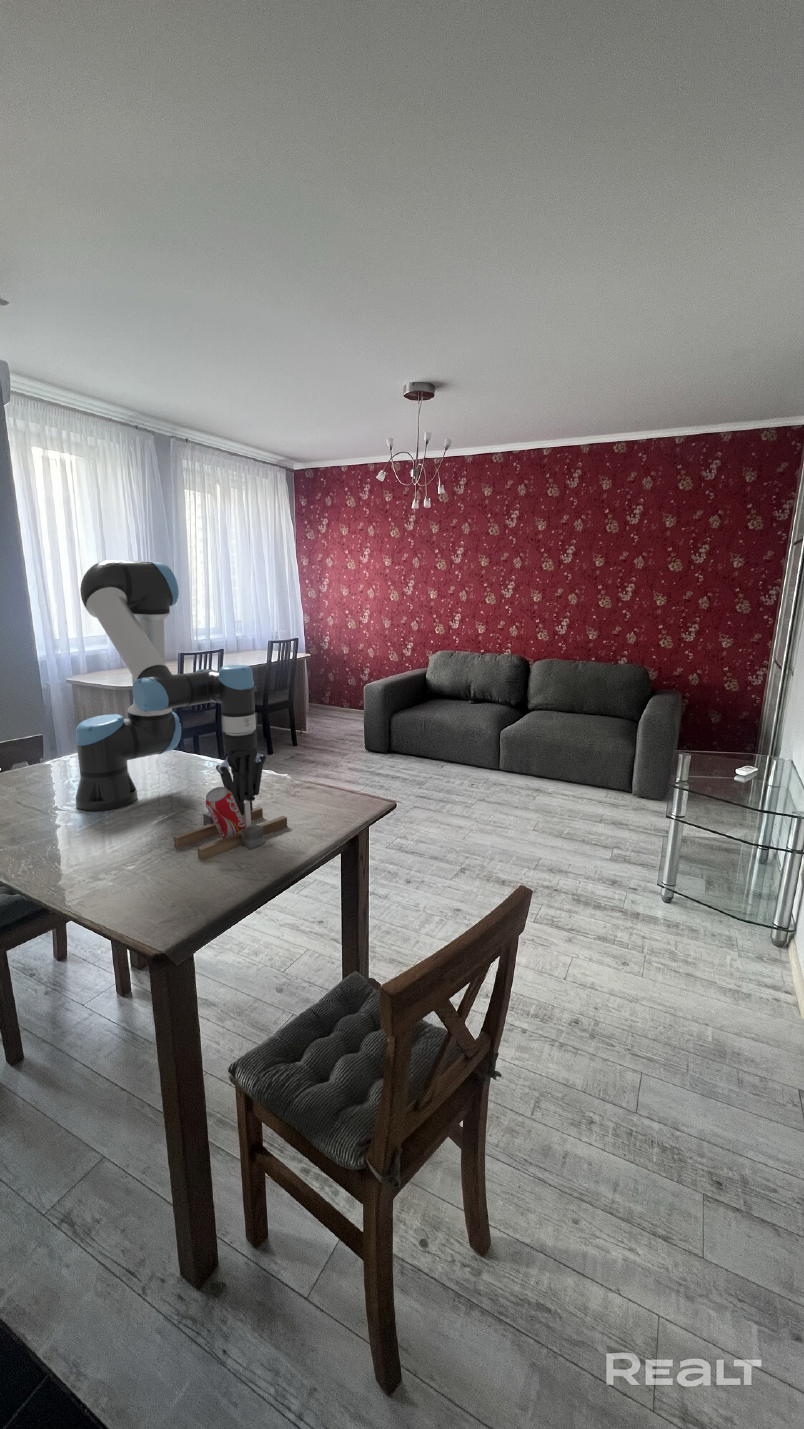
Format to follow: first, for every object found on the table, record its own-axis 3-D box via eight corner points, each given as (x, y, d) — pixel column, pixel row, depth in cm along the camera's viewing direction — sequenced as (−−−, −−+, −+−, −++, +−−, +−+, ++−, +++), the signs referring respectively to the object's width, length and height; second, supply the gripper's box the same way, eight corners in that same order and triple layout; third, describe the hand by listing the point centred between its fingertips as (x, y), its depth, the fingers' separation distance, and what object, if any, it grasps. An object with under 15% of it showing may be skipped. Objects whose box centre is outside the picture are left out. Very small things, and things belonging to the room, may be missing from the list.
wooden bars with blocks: (166, 842, 137) (164, 826, 136) (250, 812, 156) (250, 798, 155) (211, 865, 126) (210, 847, 125) (296, 830, 145) (296, 814, 144)
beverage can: (242, 840, 137) (225, 801, 131) (217, 842, 138) (198, 804, 132) (250, 821, 143) (233, 783, 136) (225, 823, 144) (208, 786, 137)
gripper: (225, 739, 131) (232, 838, 136) (272, 728, 141) (276, 821, 146) (206, 734, 136) (213, 830, 141) (252, 724, 145) (257, 814, 151)
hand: (245, 825), depth 143 cm, fingers closed
